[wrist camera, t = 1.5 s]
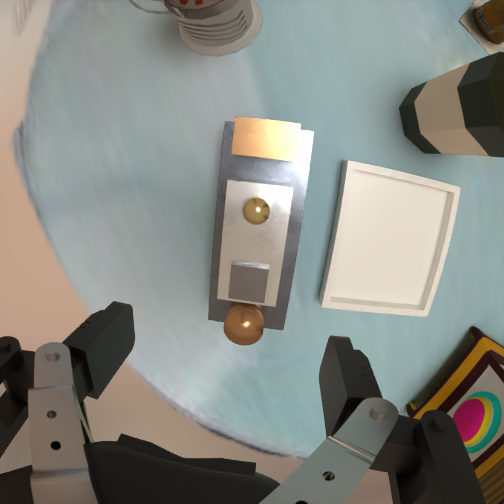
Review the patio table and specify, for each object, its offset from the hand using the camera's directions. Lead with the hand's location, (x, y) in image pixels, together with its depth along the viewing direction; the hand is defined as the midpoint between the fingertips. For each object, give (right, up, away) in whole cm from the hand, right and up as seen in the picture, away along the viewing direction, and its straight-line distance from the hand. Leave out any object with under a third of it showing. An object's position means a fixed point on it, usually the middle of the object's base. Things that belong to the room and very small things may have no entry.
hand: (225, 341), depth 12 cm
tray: (+17, +5, +21) cm, 27 cm away
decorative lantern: (+37, -18, +27) cm, 49 cm away
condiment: (+33, +34, +11) cm, 49 cm away
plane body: (+2, +7, +22) cm, 23 cm away
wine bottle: (+21, +19, +16) cm, 33 cm away
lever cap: (+1, +5, +17) cm, 18 cm away
